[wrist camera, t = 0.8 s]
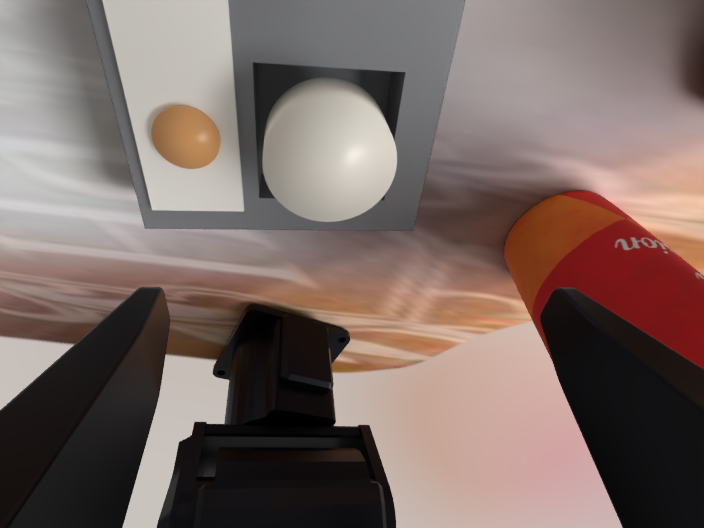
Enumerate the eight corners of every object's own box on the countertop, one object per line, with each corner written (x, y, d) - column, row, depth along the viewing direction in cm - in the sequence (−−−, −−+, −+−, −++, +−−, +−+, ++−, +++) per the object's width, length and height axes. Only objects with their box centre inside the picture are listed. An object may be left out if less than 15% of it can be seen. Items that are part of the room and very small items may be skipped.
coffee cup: (639, 255, 25) (929, 552, 14) (503, 311, 27) (660, 614, 16) (629, 136, 20) (1081, 455, 9) (462, 215, 22) (652, 565, 10)
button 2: (378, 194, 17) (386, 222, 16) (266, 191, 17) (264, 221, 15) (395, 81, 15) (407, 102, 13) (262, 72, 14) (259, 94, 12)
